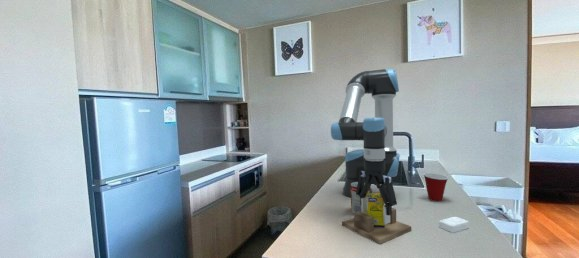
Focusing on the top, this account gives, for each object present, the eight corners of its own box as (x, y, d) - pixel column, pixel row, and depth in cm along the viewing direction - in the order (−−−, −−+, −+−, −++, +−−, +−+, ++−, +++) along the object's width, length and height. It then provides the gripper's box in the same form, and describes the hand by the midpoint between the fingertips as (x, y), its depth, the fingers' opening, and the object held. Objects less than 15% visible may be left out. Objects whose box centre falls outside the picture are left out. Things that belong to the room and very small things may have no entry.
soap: (455, 223, 99) (455, 215, 99) (469, 228, 94) (469, 220, 94) (438, 227, 96) (438, 219, 96) (452, 234, 91) (452, 225, 91)
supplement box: (385, 227, 94) (384, 198, 93) (367, 226, 95) (367, 197, 94) (382, 221, 99) (382, 193, 99) (366, 220, 101) (365, 192, 100)
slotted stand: (342, 225, 100) (341, 208, 100) (372, 215, 109) (371, 200, 109) (380, 244, 85) (379, 224, 85) (411, 230, 94) (411, 213, 93)
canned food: (371, 209, 116) (370, 183, 115) (367, 215, 109) (367, 187, 108) (353, 207, 119) (353, 181, 119) (349, 213, 112) (348, 185, 112)
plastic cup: (451, 204, 118) (451, 178, 118) (424, 202, 122) (424, 177, 122) (446, 196, 128) (446, 173, 128) (422, 195, 133) (422, 171, 132)
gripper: (345, 156, 103) (346, 211, 104) (393, 165, 84) (394, 232, 85) (358, 154, 107) (360, 207, 108) (407, 162, 88) (408, 226, 89)
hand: (375, 218), depth 97 cm, fingers open, 9 cm apart
